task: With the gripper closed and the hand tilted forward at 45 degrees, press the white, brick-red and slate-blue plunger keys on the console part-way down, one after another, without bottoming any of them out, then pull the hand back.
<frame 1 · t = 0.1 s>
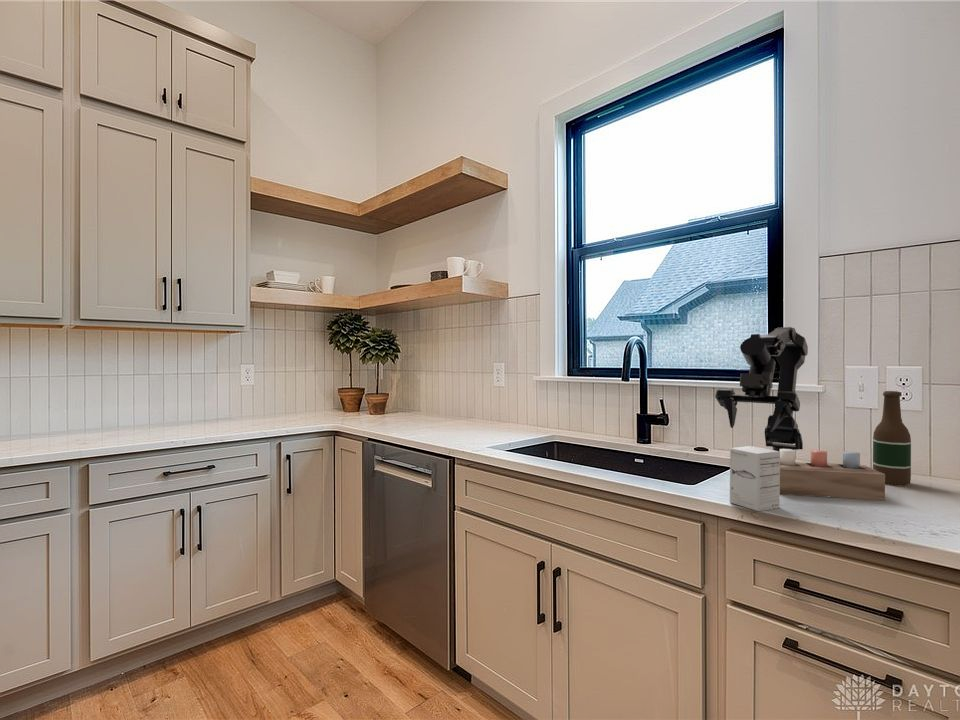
hand: (750, 429, 130), 15 cm above the countertop, tool tilted 35°, fingers open, 9 cm apart
beer bottle: (891, 483, 135), on the countertop
brick key: (818, 459, 128), point 7 cm above the countertop, slide at 0.0 cm
white key: (787, 458, 130), point 7 cm above the countertop, slide at 0.0 cm
supplement box: (754, 506, 115), on the countertop
console: (822, 491, 126), on the countertop
slate key: (851, 461, 126), point 7 cm above the countertop, slide at 0.0 cm
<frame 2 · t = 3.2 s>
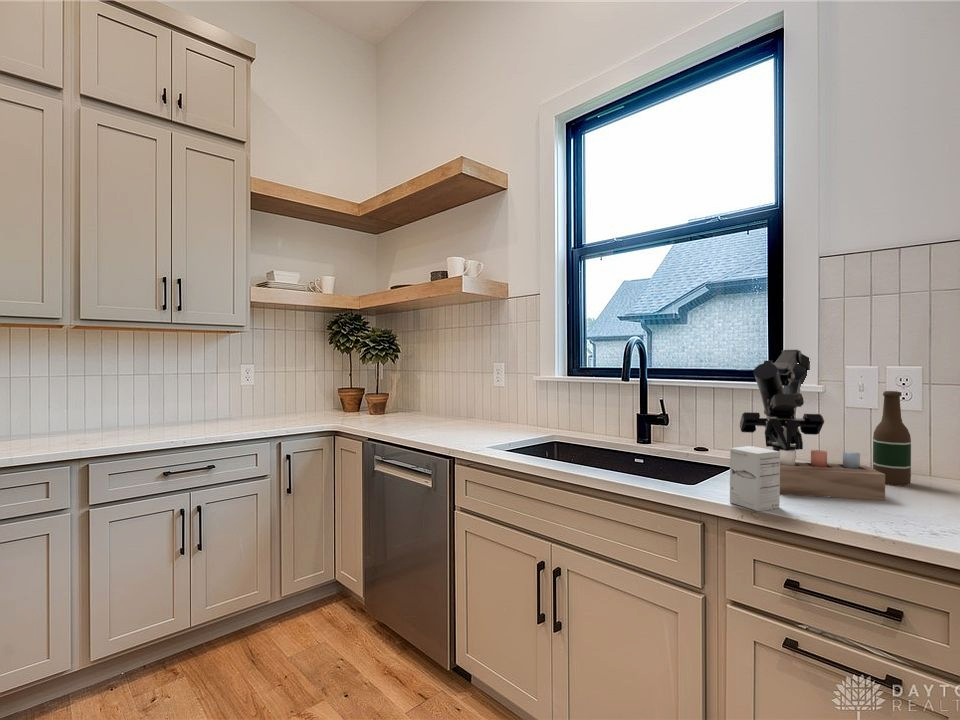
hand: (787, 449, 130), 10 cm above the countertop, tool tilted 45°, fingers closed, pressing on white key
white key: (787, 459, 130), point 7 cm above the countertop, slide at 0.2 cm, touching gripper
everything else where it was.
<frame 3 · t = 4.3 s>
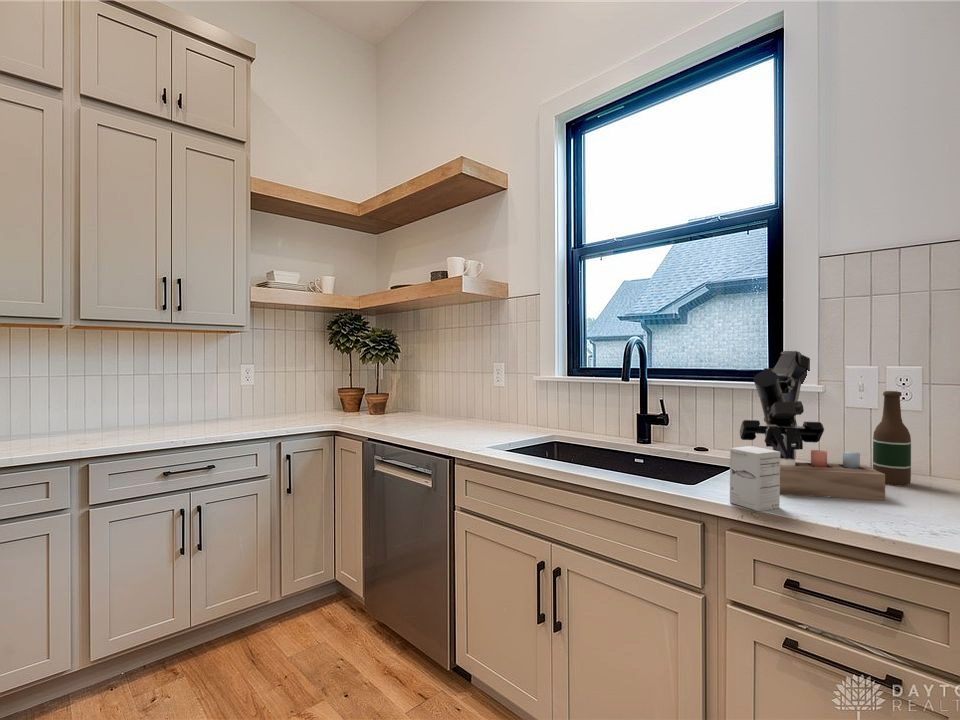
hand: (787, 457, 130), 8 cm above the countertop, tool tilted 45°, fingers closed
white key: (787, 467, 130), point 5 cm above the countertop, slide at 2.4 cm
everything else where it was.
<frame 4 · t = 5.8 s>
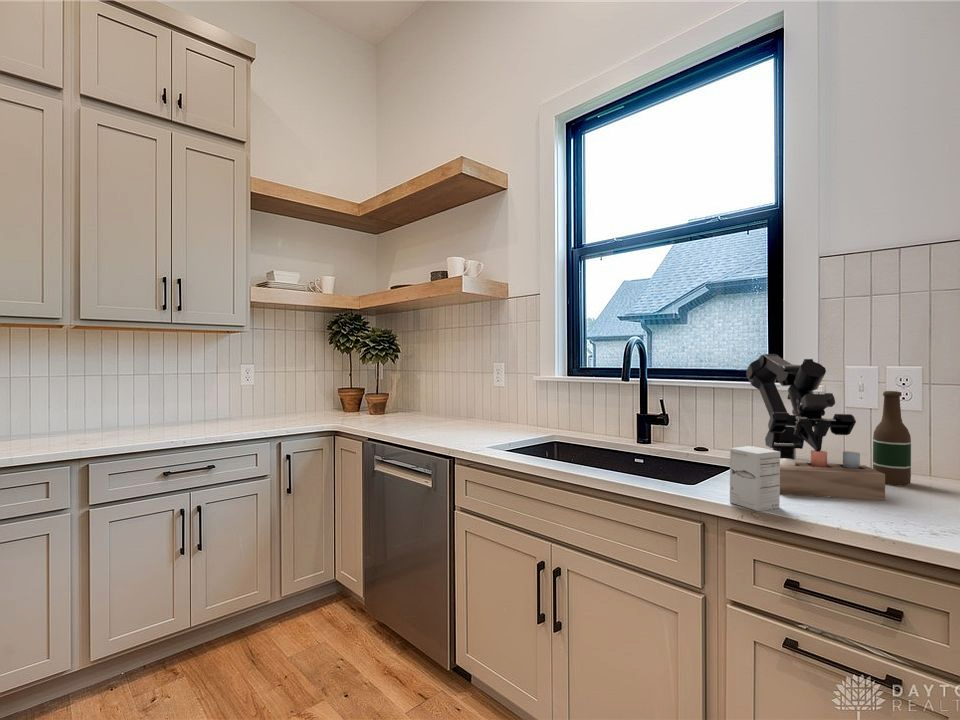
hand: (818, 450, 128), 10 cm above the countertop, tool tilted 45°, fingers closed, pressing on brick key
brick key: (818, 459, 128), point 7 cm above the countertop, slide at 0.1 cm, touching gripper
everything else where it was.
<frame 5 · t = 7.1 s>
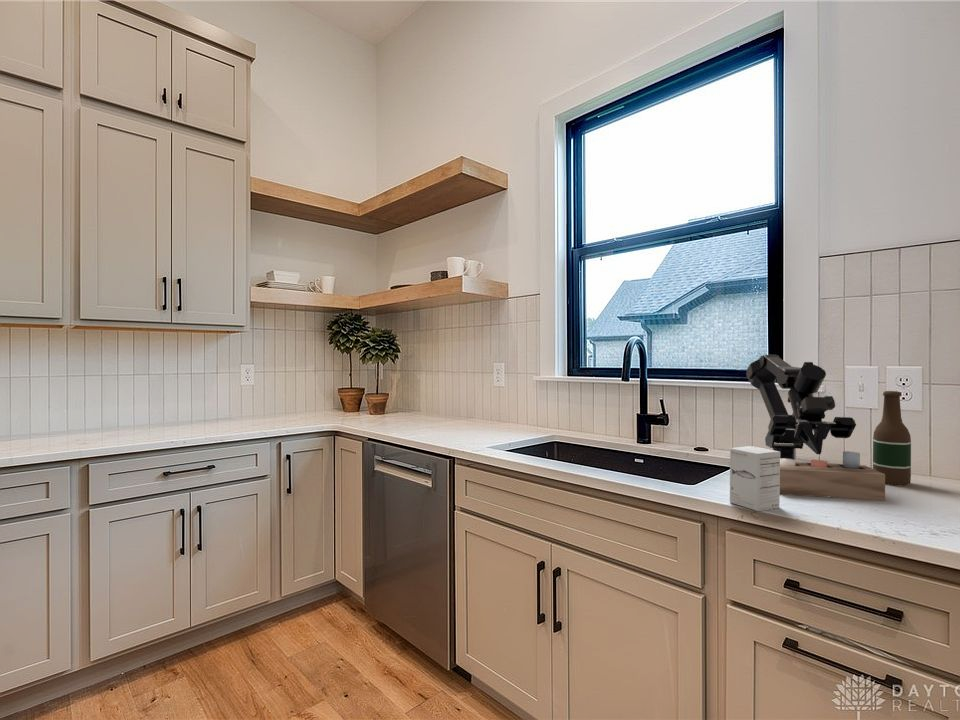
hand: (819, 453, 128), 9 cm above the countertop, tool tilted 45°, fingers closed
brick key: (818, 469, 128), point 5 cm above the countertop, slide at 2.4 cm
everything else where it was.
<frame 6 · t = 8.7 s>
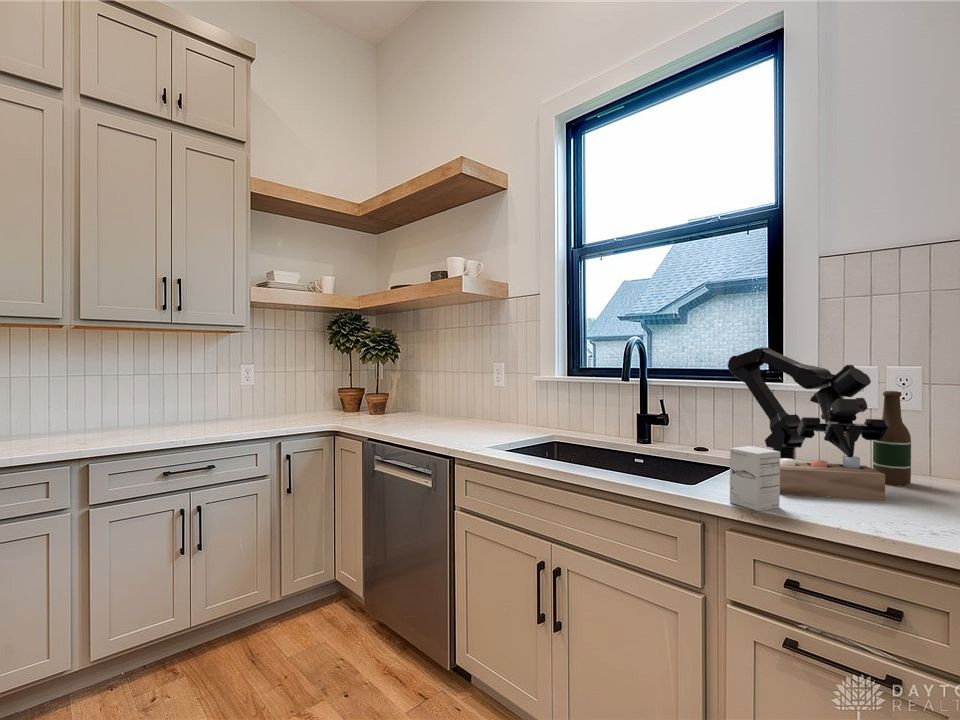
hand: (851, 456, 126), 9 cm above the countertop, tool tilted 45°, fingers closed, pressing on slate key
slate key: (851, 465, 126), point 6 cm above the countertop, slide at 1.1 cm, touching gripper
everything else where it was.
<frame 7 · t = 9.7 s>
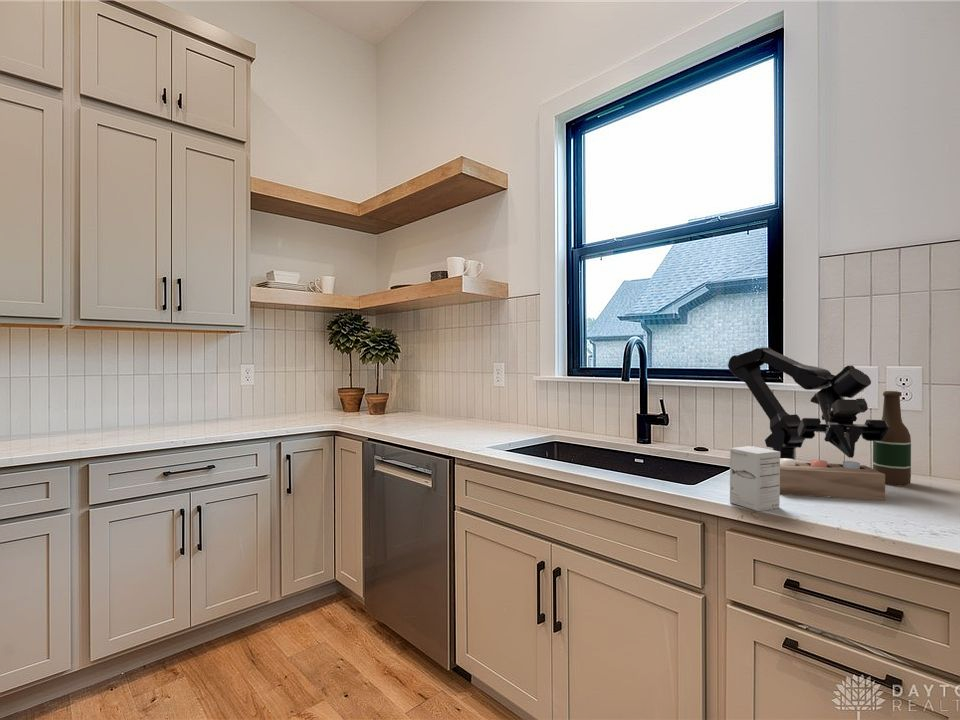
hand: (851, 456, 126), 9 cm above the countertop, tool tilted 45°, fingers closed
slate key: (851, 471, 126), point 5 cm above the countertop, slide at 2.4 cm
everything else where it was.
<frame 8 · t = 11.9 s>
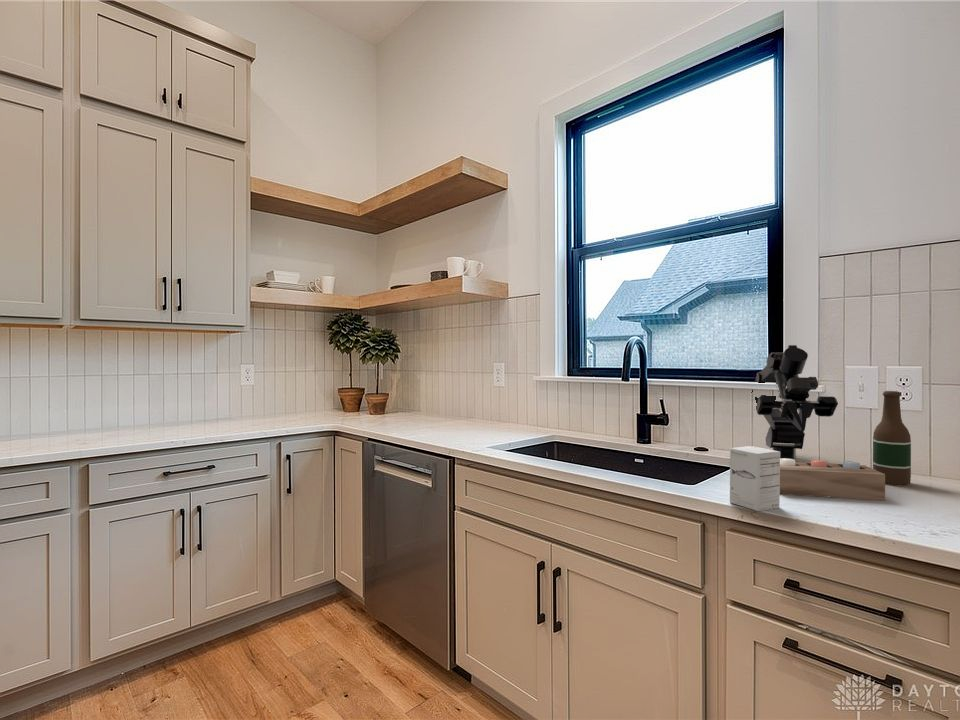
hand: (802, 430, 136), 14 cm above the countertop, tool tilted 45°, fingers closed
nothing on the countertop moved.
at the end: white key slide at 2.4 cm; brick key slide at 2.4 cm; slate key slide at 2.4 cm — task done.
